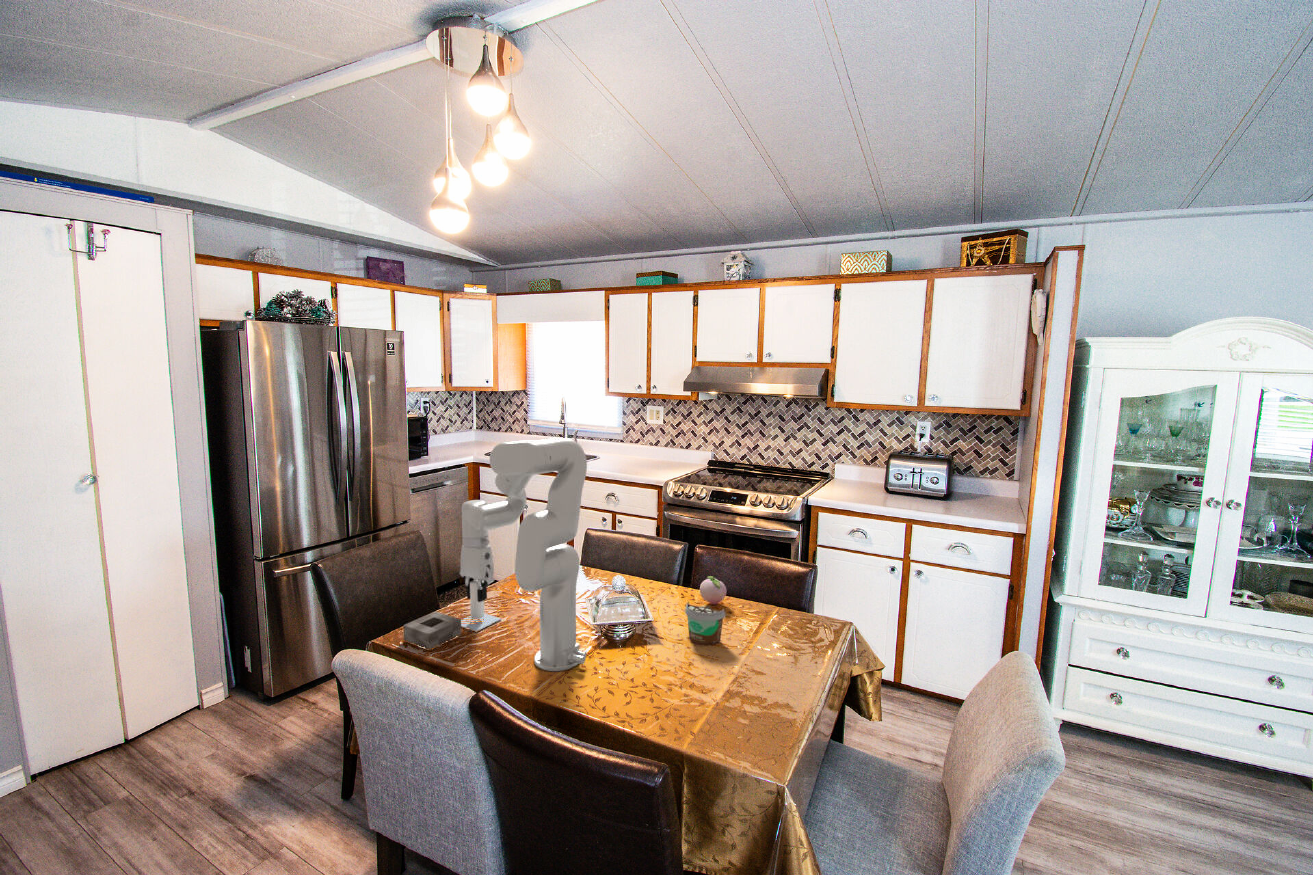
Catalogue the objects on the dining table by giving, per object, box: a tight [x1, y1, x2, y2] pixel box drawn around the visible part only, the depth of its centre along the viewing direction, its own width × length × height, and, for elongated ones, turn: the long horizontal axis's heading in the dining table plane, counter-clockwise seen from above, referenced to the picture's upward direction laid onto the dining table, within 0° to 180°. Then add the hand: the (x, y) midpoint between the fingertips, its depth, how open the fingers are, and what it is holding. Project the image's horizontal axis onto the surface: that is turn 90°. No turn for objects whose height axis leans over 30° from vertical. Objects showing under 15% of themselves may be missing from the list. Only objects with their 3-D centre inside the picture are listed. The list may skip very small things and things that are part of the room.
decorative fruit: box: [699, 575, 727, 605], centre depth 186 cm, size 9×8×10 cm
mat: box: [461, 612, 502, 632], centre depth 171 cm, size 10×10×1 cm
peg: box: [469, 579, 485, 619], centre depth 171 cm, size 4×4×11 cm
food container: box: [684, 600, 726, 647], centre depth 160 cm, size 12×6×10 cm, turn 62°
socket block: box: [402, 611, 462, 649], centre depth 161 cm, size 11×11×5 cm
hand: (477, 598), depth 171 cm, fingers closed on peg, 3 cm apart
